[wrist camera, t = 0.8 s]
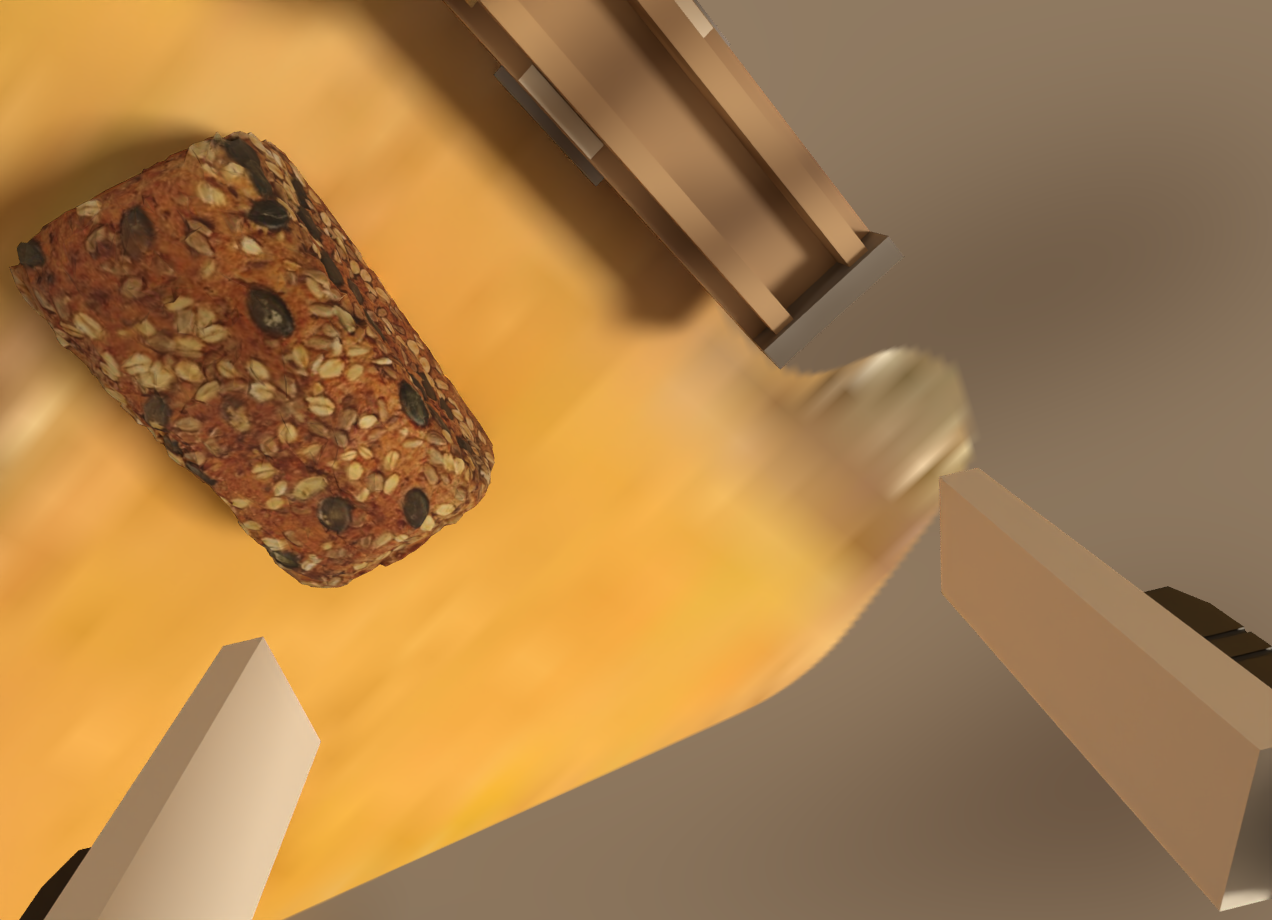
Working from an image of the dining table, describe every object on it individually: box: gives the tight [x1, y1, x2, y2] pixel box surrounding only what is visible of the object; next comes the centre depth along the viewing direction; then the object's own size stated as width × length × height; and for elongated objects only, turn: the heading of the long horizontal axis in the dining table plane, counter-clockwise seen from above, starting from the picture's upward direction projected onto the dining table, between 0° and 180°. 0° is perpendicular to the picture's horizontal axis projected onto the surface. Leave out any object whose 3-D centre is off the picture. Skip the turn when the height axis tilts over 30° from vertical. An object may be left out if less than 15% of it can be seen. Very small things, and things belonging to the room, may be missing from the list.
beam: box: [443, 0, 904, 369], centre depth 29 cm, size 28×8×8 cm, turn 44°
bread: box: [9, 131, 495, 588], centre depth 32 cm, size 19×11×10 cm, turn 28°
